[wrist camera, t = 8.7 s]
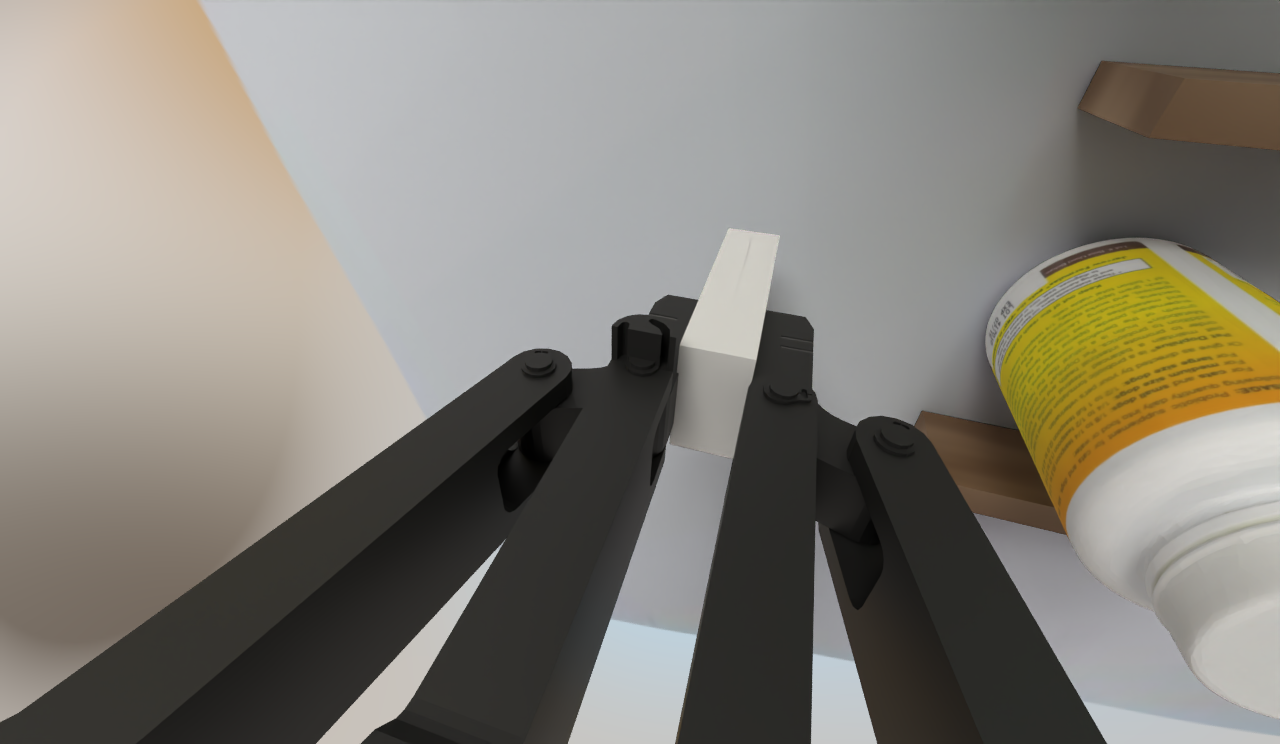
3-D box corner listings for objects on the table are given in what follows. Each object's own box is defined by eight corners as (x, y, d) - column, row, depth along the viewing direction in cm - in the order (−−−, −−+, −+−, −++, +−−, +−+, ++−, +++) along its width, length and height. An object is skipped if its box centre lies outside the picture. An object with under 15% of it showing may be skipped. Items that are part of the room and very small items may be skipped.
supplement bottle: (948, 370, 17) (1050, 680, 9) (1040, 212, 14) (1320, 492, 6) (1131, 411, 16) (1416, 795, 8) (1279, 251, 13) (1993, 648, 5)
